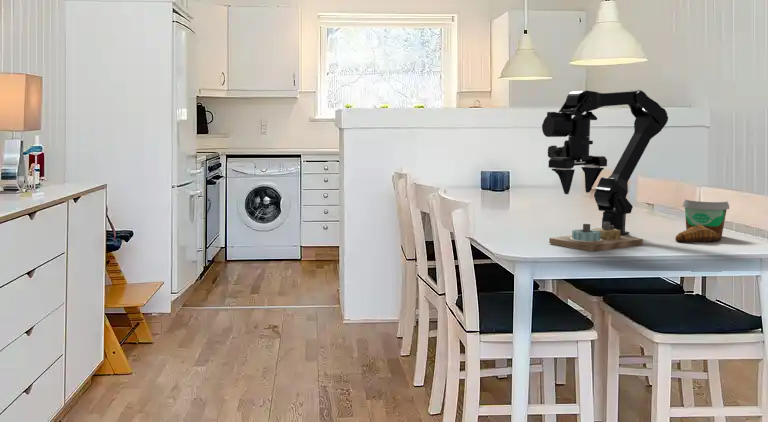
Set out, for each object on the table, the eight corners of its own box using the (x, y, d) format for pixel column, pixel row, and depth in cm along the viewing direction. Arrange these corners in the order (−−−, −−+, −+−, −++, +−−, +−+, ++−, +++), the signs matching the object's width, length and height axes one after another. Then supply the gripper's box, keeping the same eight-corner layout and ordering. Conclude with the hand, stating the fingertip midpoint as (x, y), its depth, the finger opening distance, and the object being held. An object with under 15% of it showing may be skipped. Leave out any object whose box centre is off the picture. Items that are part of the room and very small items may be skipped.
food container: (680, 236, 217) (682, 201, 216) (680, 233, 223) (682, 199, 221) (728, 239, 212) (730, 203, 211) (727, 236, 218) (729, 201, 217)
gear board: (599, 237, 212) (600, 217, 212) (642, 244, 201) (643, 223, 201) (549, 243, 201) (550, 222, 200) (592, 251, 190) (593, 229, 189)
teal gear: (584, 236, 203) (584, 228, 203) (606, 239, 198) (606, 231, 198) (566, 238, 199) (566, 230, 199) (588, 241, 194) (588, 233, 193)
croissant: (684, 245, 203) (685, 226, 203) (668, 241, 210) (669, 223, 209) (728, 243, 206) (729, 225, 206) (712, 240, 213) (713, 222, 212)
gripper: (577, 135, 225) (575, 189, 227) (533, 136, 213) (532, 192, 215) (609, 136, 216) (607, 192, 218) (566, 137, 205) (564, 196, 206)
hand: (577, 193), depth 215 cm, fingers open, 9 cm apart
